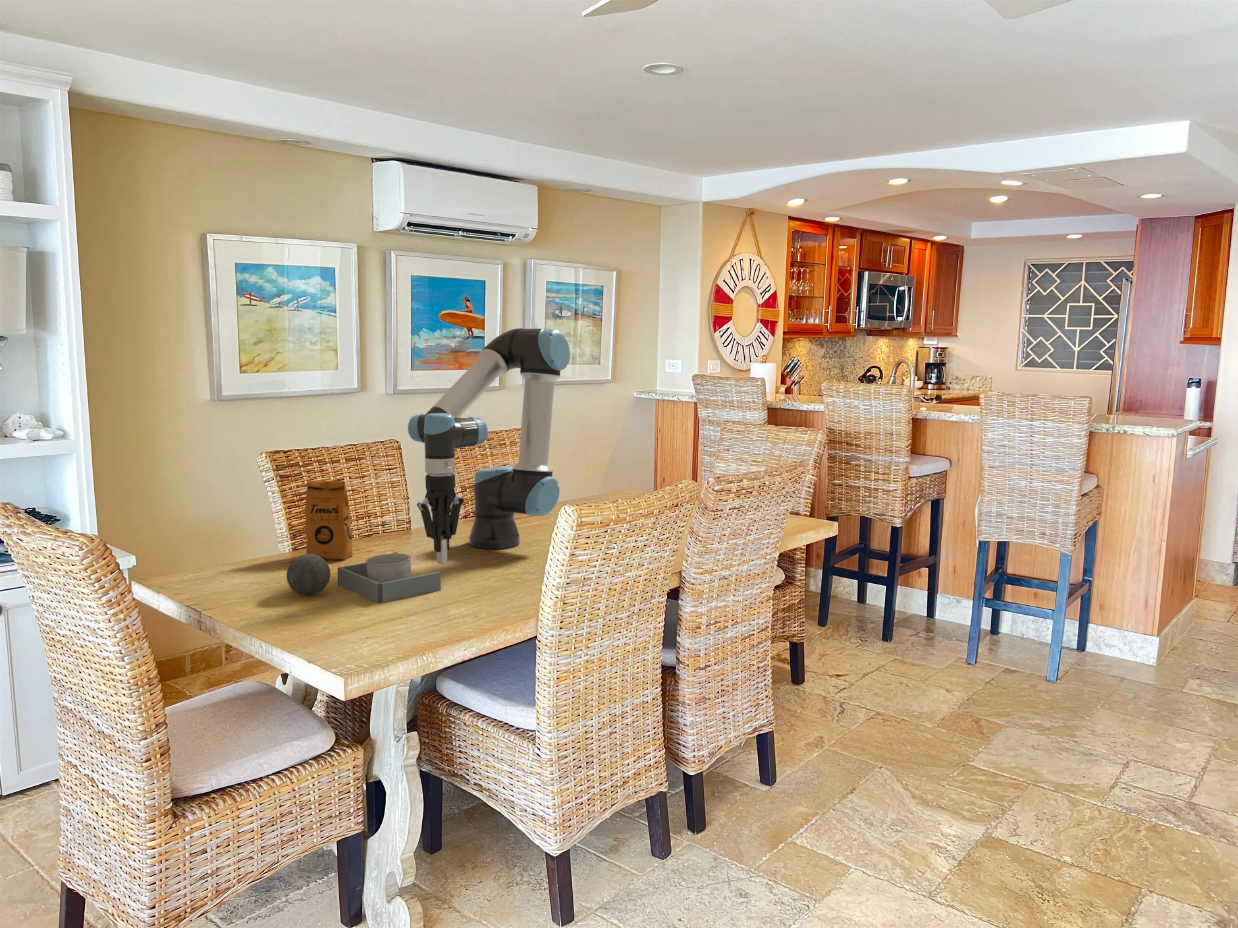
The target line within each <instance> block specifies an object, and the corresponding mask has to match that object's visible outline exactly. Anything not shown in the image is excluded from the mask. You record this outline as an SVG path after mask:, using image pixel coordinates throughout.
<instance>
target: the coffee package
mask: <svg viewBox="0 0 1238 928" xmlns="http://www.w3.org/2000/svg"><path fill="white" fill-rule="evenodd" d="M304 505H305V506H304V517H305V522H304V523H305V532H306V533H305V536H306V554H315V555H318V556H320V557H321V558H323V559H324V560H333V561H335V560H336V561H337V560H342V561H346V560H347V559H349V558H350V557H352V556H353V554H354V553H353V531H352V525H351V524H352V523H351V510H350V509H351V508H350V505H349V498H348V490H347V487H346V482H345V481H344V480H314V479H313V480H310V479H309V480H306V494H305V504H304Z"/></svg>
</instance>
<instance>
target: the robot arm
mask: <svg viewBox="0 0 1238 928" xmlns="http://www.w3.org/2000/svg"><path fill="white" fill-rule="evenodd" d="M570 360H571V349H570V344H569V341H568V339H567V338H566V336H565V334H563V333H562V332H561V331H560V330H558V329H551V328H543V327H542V328H518V327H517V328H513V329H509V330H506V331H505V332H503V333H501V334H499V335H498V336H496V337H495V338H493V339H492V340H491V341H490V342H489V343H487V344H486V345H485V346H484V347H483V348H482V349H481V350H480V351H479V353H478V359H476V361H475V362H473V363H472V365H471V366H470V367H469V368H468V369H467V370H465V372H464V373H463V375H461V377H459V379H457V380H456V382H455V383H454V384H453V385H452V386H451V387H450V388H449V389H448V390H447V391H446V392H445V393H444V394H443V396H441V397H440V398H439V399H438V401H437V402H436V403H435V404H434V405H433V406H432V407H431V408H430V409H429V410H428V411H427V412H426V413H425V414H424V413H420V414H414V415H413V416H411V418H410V419H409V422H408V424H407V433H408V435H409V437H410V439H411V440H413V441H415V442H418V443H423V444H424V473H426V475H425V480H424V481H425V490H426V493H425V496H424V499H423V500H422V501H421V502H417V504H416V506H417V508H418V509H419V511H420V514H421V519H422V522H423V527H424V530H425V534H426V537H427V538H429V539H432V540H433V550H434V552H436V564H439V565H442V566H443V565H447V564H448V551H449V550H450V540H451V539H452V537H453V536H456V534H457V529H458V525H459V524H458V523H459V519H460V512H461V508H462V505H463V503H464V501H465V500H464V498H462V497H459V496H458V495H457V493H456V491H455V490H456V489H455V488H456V474H454V473H455V472H456V469H455V468H456V466H455V464H456V460H455V457H456V455H455V454H456V451H455V450H456V449H461V448H466V447H467V448H469V447H476V446H479V445H482V444H483V443H484V442H486V440H487V438H488V433H489V432H488V425H487V423H486V422H485V421H484V420H483V419H482V418H481V417H473V416H471V417H470V416H469V417H462V416H463V415H465V412H467V411H468V410H469V408H470V407H472V405H473V404H474V403H475V402H476V401H477V400H478V398H480V396H481V395H482V394H483V393H484V392H485V391H486V390H487V389H488V388H489V387H490V386H491V385H492V384H493V382H494V381H495V380H496V379H497V378H498V377H499V378H500V377H503V376H505V375H506V374H507V372H509V371H511V370H514V369H520V370H519V374H520V376H521V377H522V378H523V380H524V384H523V385H524V387H523V399H522V413H521V424H520V426H521V427H520V440H519V450H518V451H519V453H518V462H517V463H516V464H515V465H514V466H501V467H499V466H498V467H489V468H482V469H479V470H477V471H476V472H475V474H474V484H473V486H474V487H473V489H474V490H473V491H474V494H473V495H474V521H473V524H472V527H471V531H470V534H469V536H468V539H469V540H468V542H469V543H468V544H469V546H470V547H473V548H477V549H483V550H499V549H509V548H510V549H511V548H514V547H517V546H518V545H520V543H521V541H520V540H521V539H520V538H521V536H520V533H519V530H518V527H517V523H516V521H515V514H519V515H520V514H521V515H527V516H530V517H534V516H536V517H538V516H539V517H544V516H547V515H549V514H550V513H551V512H552V511H553V509H554V508H555V507H556V505H557V503H558V501H559V498H560V493H561V492H560V485H559V482H558V480H557V479H556V478H555V477H553V475H554V473H553V472H554V471H553V469H552V467H550V465H549V458H550V456H549V455H550V446H551V445H550V444H551V443H550V441H551V433H552V432H551V429H552V417H553V416H552V415H553V403H554V392H555V391H554V390H555V383H556V381H558V379H559V378H560V377H561V371H563V370H565V369H566V368H567V367H568V364H569V363H570ZM429 508H430V509H429Z"/></svg>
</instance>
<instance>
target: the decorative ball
mask: <svg viewBox="0 0 1238 928" xmlns="http://www.w3.org/2000/svg"><path fill="white" fill-rule="evenodd" d="M330 579H331V569H330V566H329V564H328V563H327V561H326V559H323V558H321V557H320V556H318V555H315V554H307V553H305V554H304V553H303V554H301V555H299V556H296V557H295V558H294V559H293V560H292V561H291V562H290V564H289V565H288V567H287V570H286V581H287V583H288V586H289V588H290V589H291V590H292V591H293V592H294V593H297V594H299V595H302V596H306V597H307V596H315V595H317V594H318V593H320V592H322V591H323V590H325V588H326V587H327V585H328V584H329V581H330Z"/></svg>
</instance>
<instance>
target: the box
mask: <svg viewBox="0 0 1238 928" xmlns="http://www.w3.org/2000/svg"><path fill="white" fill-rule="evenodd" d="M441 575H442V573H441V572H440V571H435V572H430V573H426V574H421V575H415V576H411V577H409V578H404V579H399V580H394V581H389V582H384V583H379V582H377V581H374V580H372V579H369V578H368V574H367V564H366V562H362V563H355V564H352V565H351V564H349V565H345V566H340V567H339V566H338V567H337V586H340V587H342V588H343V589H347V590H349V591H350V592H354V593H355V594H358V595H360V596H362V597H364V598H365V597H366V598H367V599H370V600H372V601H374V602H377V603H379V604H381V603H386V602H390V601H395V600H401V599H405V598H410V597H414V596H420V595H423V594H429V593H433V592H439V591H441V587H442V586H441V584H442V583H441V581H442V579H441Z"/></svg>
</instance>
